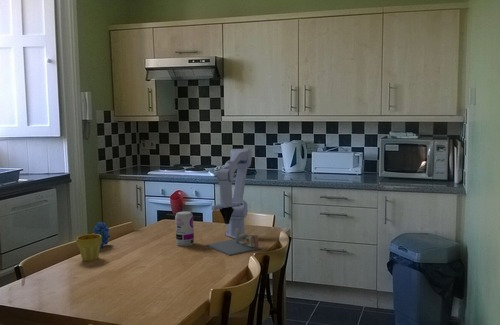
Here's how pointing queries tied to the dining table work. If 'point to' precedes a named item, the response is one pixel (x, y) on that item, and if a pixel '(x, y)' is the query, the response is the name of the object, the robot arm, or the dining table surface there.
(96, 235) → the plant pot
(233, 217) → the robot arm
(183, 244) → the supplement can
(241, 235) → the gate
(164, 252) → the dining table surface
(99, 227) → the grapes
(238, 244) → the gate frame
